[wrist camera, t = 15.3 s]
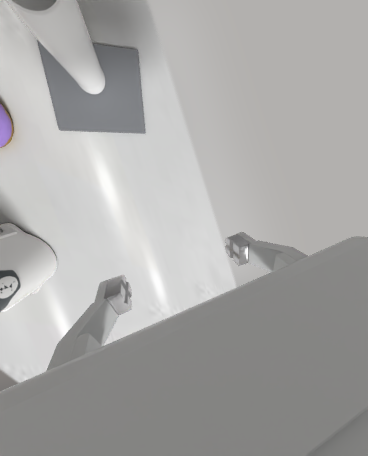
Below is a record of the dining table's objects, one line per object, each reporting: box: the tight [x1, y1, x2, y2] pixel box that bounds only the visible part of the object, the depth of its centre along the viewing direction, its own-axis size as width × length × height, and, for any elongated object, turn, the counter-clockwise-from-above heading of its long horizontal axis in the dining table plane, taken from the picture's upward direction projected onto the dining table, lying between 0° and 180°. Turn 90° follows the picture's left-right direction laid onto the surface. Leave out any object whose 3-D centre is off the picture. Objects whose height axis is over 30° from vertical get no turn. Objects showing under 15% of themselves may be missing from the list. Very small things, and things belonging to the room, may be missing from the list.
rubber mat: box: [37, 40, 145, 133], centre depth 28 cm, size 17×14×1 cm
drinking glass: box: [5, 0, 105, 94], centre depth 20 cm, size 7×7×15 cm
